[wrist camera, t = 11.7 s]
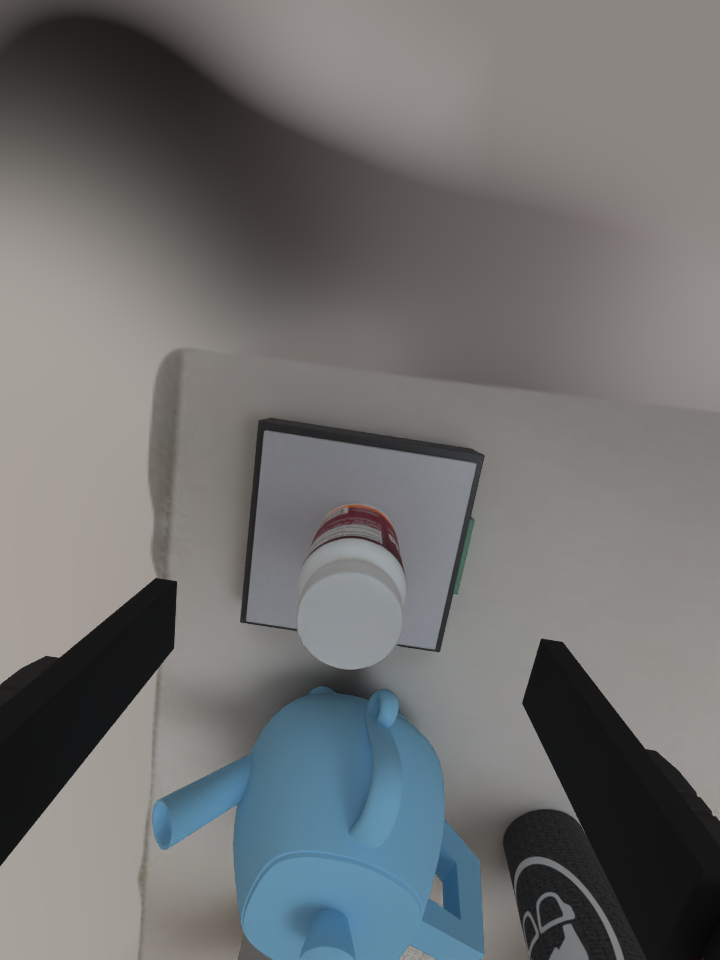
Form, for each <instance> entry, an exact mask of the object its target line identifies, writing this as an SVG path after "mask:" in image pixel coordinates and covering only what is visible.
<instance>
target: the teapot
mask: <svg viewBox="0 0 720 960" xmlns="http://www.w3.org/2000/svg"><path fill="white" fill-rule="evenodd" d="M398 709H399V700H398V698H397V697H396V695H395V694H394V693H393V692H391V691H390V690H388V689H380V690H378V691H376V692H375V693H373V695H372V696H371V697H370V699H369V700H368V699H364V698H361V697H357V696H352V695H346V694H338V693H335V692H334V691H333V690H332V689H330V688H328V687H316V688H314V689H312V690H311V691H310V692H309V694H308V695H306V696H303V697H301V698H298V699H296V700H294V701H293V702H291V703H289V704H288V705H286V706H285V707H283V708H282V709H281V710H280V711H278V712H277V713H276V714H275V715H274V716H273V717H272V718H271V720H270V721H269V722H268V723H267V725H266V726H265V728H264V729H263V731H262V732H261V734H260V735H259V737H258V739H257V740H256V742H255V744H254V746H253V748H252V750H251V752H250V754H249V755H247V756H245V757H243V758H241V759H239V760H237V761H235V762H233V763H231V764H229V765H227V766H225V767H223V768H221V769H219V770H217V771H215V772H213V773H211V774H209V775H207V776H205V777H203V778H201V779H199V780H197V781H195V782H193V783H191V784H189V785H187V786H185V787H183V788H181V789H179V790H177V791H175V792H173V793H171V794H169V795H167V796H165V797H163V798H161V799H159V800H157V801H156V803H155V805H154V808H153V814H152V824H153V831H154V835H155V839H156V841H157V843H158V845H159V847H160V848H161V849H162V850H167V849H168V848H170V847H171V846H173V845H174V844H176V843H178V842H179V841H181V840H182V839H184V838H185V837H187V836H188V835H190V834H192V833H193V832H195V831H196V830H198V829H199V828H201V827H203V826H204V825H206V824H207V823H209V822H210V821H212V820H213V819H215V818H217V817H218V816H220V815H221V814H223V813H224V812H226V811H227V810H229V809H231V808H232V807H234V806H235V805H237V810H236V818H235V825H234V841H233V851H234V869H235V881H236V891H237V901H238V909H239V915H240V920H241V926H242V929H243V932H244V934H245V935H246V937H247V939H248V940H249V941H250V943H251V944H252V945H253V946H254V947H255V948H256V949H258V950H259V951H260V952H262V953H263V954H265V955H266V956H268V957H270V958H271V959H273V960H399V958H400V957H401V956H402V955H403V953H404V952H405V950H406V949H407V947H408V946H409V945H411V946H413V947H415V948H417V949H418V950H420V951H422V952H424V953H426V954H427V955H429V956H431V957H433V958H435V959H436V960H481V959H482V957H483V956H484V936H483V915H482V894H481V874H480V860H479V859H478V858H477V857H476V856H475V855H474V853H473V852H472V851H471V850H470V849H469V847H468V846H467V845H466V844H465V843H464V841H463V840H462V839H461V838H460V837H459V836H458V834H457V833H456V832H455V831H454V830H453V828H452V827H451V826H450V825H449V824H448V822H447V821H446V820H445V819H444V782H443V776H442V770H441V765H440V761H439V759H438V757H437V754H436V753H435V751H434V749H433V747H432V746H431V744H430V743H429V742H428V740H427V739H426V738H425V737H424V736H423V735H422V734H421V733H420V732H419V731H418V730H417V729H416V728H415V727H414V726H412V725H411V724H410V723H409V722H408V721H407V719H406V718H405V717H404V716H403V715H401V714H399V713H398ZM435 874H436V875H437V876H438V877H439V879H440V880H441V881H442V882H443V902H444V908H442V907H441V906H440V905H438V904H437V903H435V902H434V901H432V900H431V899H430V898H429V895H430V891H431V887H432V884H433V880H434V876H435Z"/></svg>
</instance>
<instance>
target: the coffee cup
mask: <svg viewBox="0 0 720 960" xmlns="http://www.w3.org/2000/svg"><path fill="white" fill-rule="evenodd" d="M504 850H505V855H506V859H507V863H508V868H509V872H510V877H511V881H512V885H513V890H514V894H515V899H516V903H517V907H518V912H519V916H520V921H521V925H522V929H523V934H524V938H525V943H526V947H527V952H528V956H529V960H647V959H646V957H645V955H644V953H643V951H642V949H641V947H640V945H639V943H638V941H637V939H636V937H635V935H634V933H633V930H632V928H631V926H630V924H629V922H628V920H627V918H626V916H625V914H624V912H623V910H622V908H621V906H620V904H619V902H618V900H617V898H616V895H615V893H614V891H613V889H612V887H611V885H610V883H609V881H608V879H607V877H606V875H605V873H604V871H603V869H602V867H601V865H600V862H599V860H598V858H597V856H596V854H595V852H594V850H593V848H592V846H591V844H590V842H589V840H588V838H587V836H586V834H585V832H584V831H583V829H582V827H581V826H580V824H579V823H578V822H577V821H576V820H575V819H574V818H572V817H571V816H569V815H567V814H565V813H562V812H558V811H553V810H540V811H534V812H531V813H528V814H525V815H523V816H521V817H520V818H518V819H517V820H515V821H514V822H513V823H512V824H511V825H510V826H509V828H508V829H507V831H506V833H505V836H504Z"/></svg>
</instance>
